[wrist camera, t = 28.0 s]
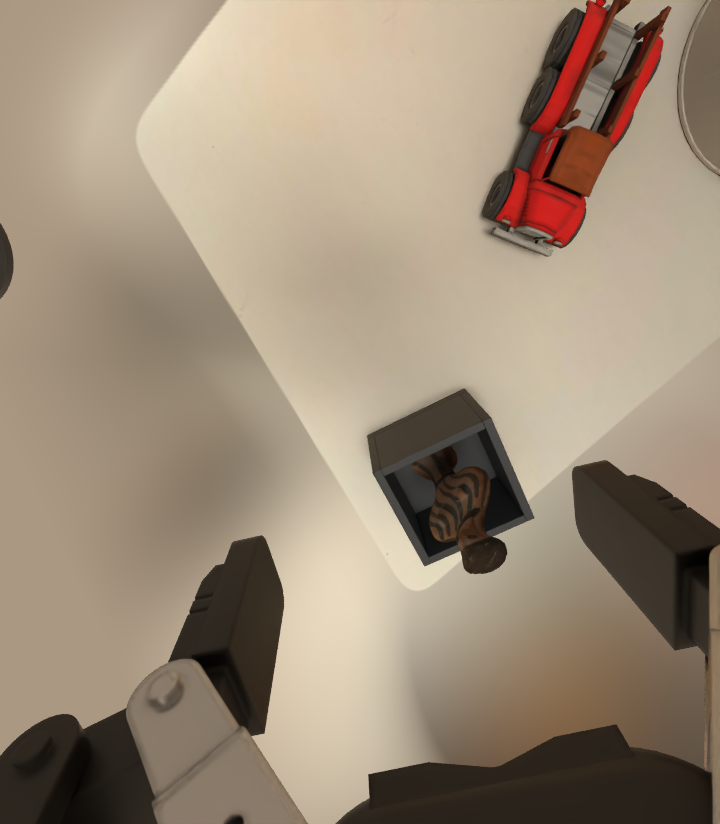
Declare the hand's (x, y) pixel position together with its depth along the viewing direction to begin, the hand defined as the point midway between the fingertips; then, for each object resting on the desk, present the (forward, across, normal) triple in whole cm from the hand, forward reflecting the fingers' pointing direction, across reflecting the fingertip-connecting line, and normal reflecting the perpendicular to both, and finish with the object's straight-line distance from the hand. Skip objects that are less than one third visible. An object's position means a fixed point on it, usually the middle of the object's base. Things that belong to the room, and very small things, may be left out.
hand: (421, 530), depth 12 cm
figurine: (+35, -5, +16) cm, 39 cm away
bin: (+36, -5, +16) cm, 40 cm away
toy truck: (+36, -21, -12) cm, 43 cm away
